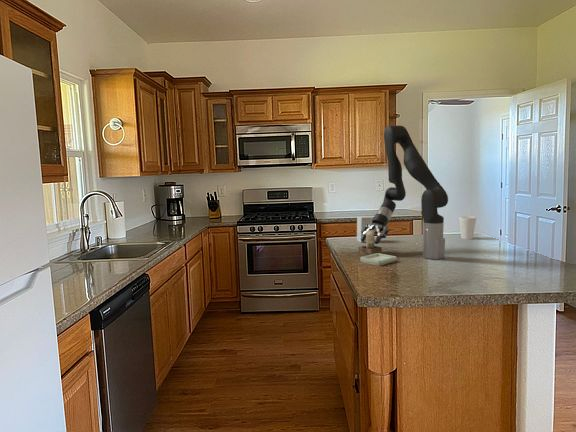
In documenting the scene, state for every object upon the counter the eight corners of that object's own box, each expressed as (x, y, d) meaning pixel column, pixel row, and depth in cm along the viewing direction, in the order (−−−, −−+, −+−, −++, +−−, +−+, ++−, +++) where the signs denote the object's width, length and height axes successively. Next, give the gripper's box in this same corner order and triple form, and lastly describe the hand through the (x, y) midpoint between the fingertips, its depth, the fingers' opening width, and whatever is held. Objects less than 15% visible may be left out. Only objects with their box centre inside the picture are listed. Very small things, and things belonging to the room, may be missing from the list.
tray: (396, 261, 191) (396, 256, 190) (379, 265, 183) (379, 261, 182) (377, 257, 199) (377, 252, 199) (360, 261, 191) (360, 257, 191)
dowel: (375, 253, 207) (375, 230, 205) (370, 255, 204) (370, 231, 203) (369, 252, 210) (369, 229, 208) (364, 253, 207) (364, 230, 206)
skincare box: (361, 242, 237) (361, 217, 235) (356, 241, 243) (356, 216, 241) (373, 241, 240) (374, 216, 238) (368, 240, 245) (369, 215, 244)
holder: (381, 253, 207) (381, 247, 206) (371, 256, 201) (371, 249, 201) (368, 251, 213) (369, 245, 212) (358, 253, 208) (358, 247, 207)
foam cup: (460, 239, 241) (461, 218, 239) (456, 237, 250) (457, 216, 248) (477, 239, 239) (478, 218, 238) (473, 237, 248) (473, 216, 247)
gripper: (368, 211, 215) (354, 236, 209) (391, 214, 204) (377, 239, 198) (374, 220, 219) (360, 244, 213) (396, 223, 208) (383, 248, 202)
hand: (368, 242), depth 206 cm, fingers open, 8 cm apart
